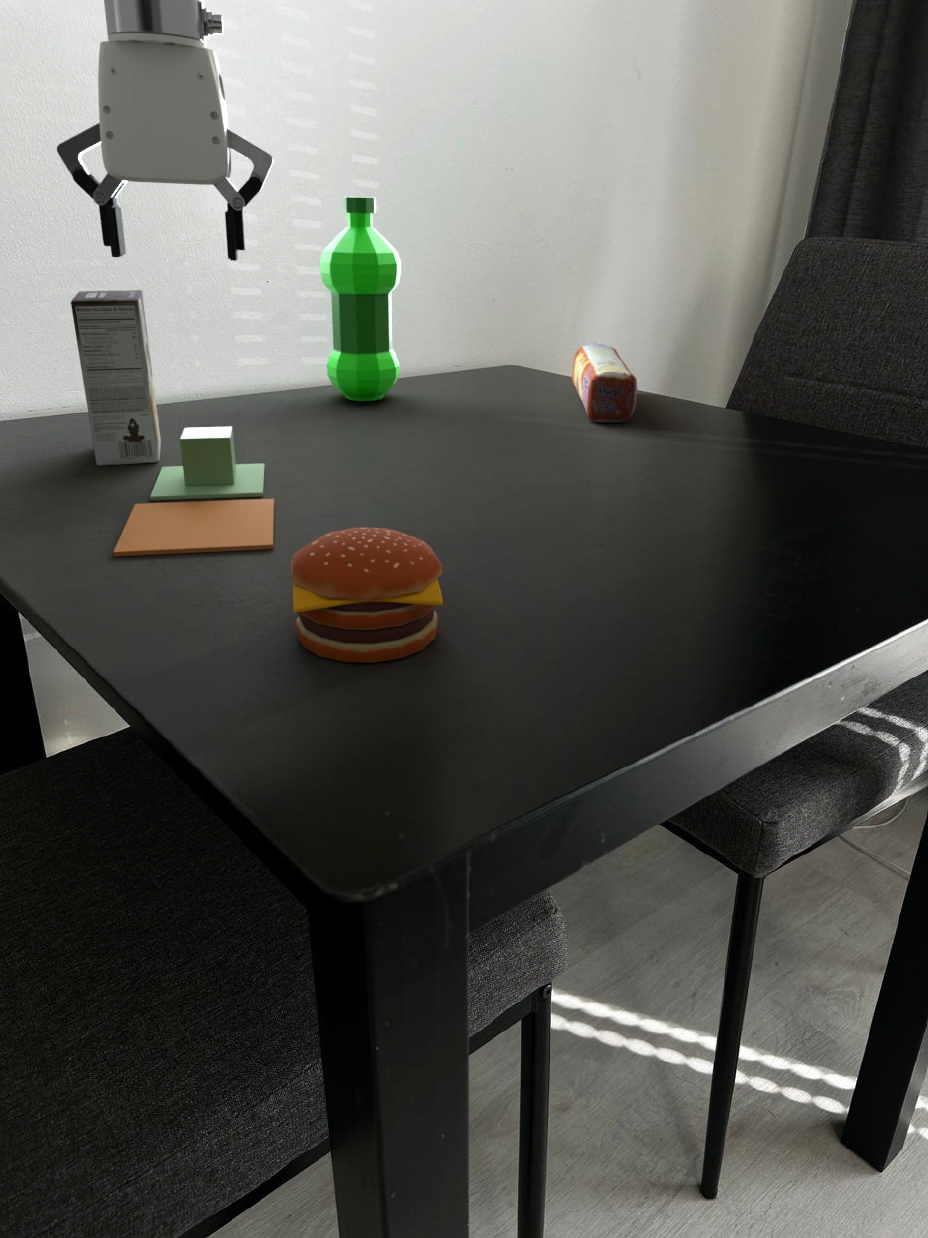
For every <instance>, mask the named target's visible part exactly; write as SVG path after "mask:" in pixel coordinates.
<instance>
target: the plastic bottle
mask: <svg viewBox="0 0 928 1238" xmlns="http://www.w3.org/2000/svg"><path fill="white" fill-rule="evenodd" d="M341 210H342V211H341V212H342V213H343V214H344V213H345V214H346V227H345V228H344V229H343V230H342V231H340V232H339V233H338V234H337V235H336V236H335V237H334V238H333V239H332V240H331V241H330V242H329V243H328V245H327V246H326V247H325V248H324V249H323V250H322V253H321V256H320V259H319V273H320V277H321V281H322V284H323V285H324V286H325V287H326V289H327V290H328V291H329V292H330V297H331V318H332V320H331V321H332V323H331V324H332V344H333V345H332V346H333V349H332V351H331V353H330V355H329V358H328V361H327V364H326V372H327V376H328V377H327V378H328V379H329V381H330V383H331V384H332V385H333V387H334V388H335V389H336V390H337V391H338V392H339V393H340V394H341V395H344V398H345V399H347V400H349V401H355V402H356V401H357V402H372V401H373V402H374V401H377V400H378V401H379V400H382V399H383V398H384V396H385V395H386V394H387V393H388V392H389V391H390V390H391V389H392V388H393V386H394V385H395V384H396V383H397V381H398V378H399V375H400V372H401V371H400V370H401V369H400V362H399V359H398V356H397V354H396V352H395V350H394V348H393V304H392V303H393V302H392V301H393V297H392V296H393V295H392V292H393V291H394V290H395V289H396V288H397V286H398V285H399V284H400V281H401V274H402V261H401V258H400V254H399V253H398V250H397V249H396V248H395V247H394V246H393V245H392V244H391V243H390V242H389V241H388V240H387V239H386V238H385V237H384V236H383V235H382V234H381V233H380V232H379V231H378V230H377V229H376V228H375V227H374V226H373V214H377V197H375V196H373V197H371V196H366V197H365V196H342V197H341Z"/></svg>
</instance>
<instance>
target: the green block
mask: <svg viewBox="0 0 928 1238" xmlns="http://www.w3.org/2000/svg"><path fill="white" fill-rule="evenodd" d="M179 447H180V455H181V464H182V466H183V472H184V481H185V486H209V485H234V483H235V476H236V464H237V463H236V462H237V461H236V452H235V441H234V429H233V426H200V427H184V428H183V431H182V432H181V436H180V438H179Z"/></svg>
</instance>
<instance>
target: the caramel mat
mask: <svg viewBox="0 0 928 1238" xmlns="http://www.w3.org/2000/svg"><path fill="white" fill-rule="evenodd" d="M274 516H275V499H274V498H258V499H257V498H256V499H254V498H253V499H230V500H229V499H228V500H225V499H224V500H202V501H201V500H200V501H199V500H198V501H180V502H179V501H177V502H176V501H175V502H148V503H134V505H133V508H132V509H131V512H130V513H129V516H128V519H127V520H126V523H125V525H124V528H123V530H122V532H121V534H120V536H119V539H118V541H117V543H116V544H115V547H114V549H113V551H112V554H113V555H112V556H113V557H133V556H135V557H136V556H155V555H156V556H157V555H175V554H177V555H178V554H197V553H198V554H199V553H200V554H201V553H218V552H219V553H220V552H221V553H222V552H237V551H238V552H239V551H263V550H273V549H274V527H275V526H274V524H275V523H274V522H275V519H274V518H275V517H274Z"/></svg>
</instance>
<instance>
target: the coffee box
mask: <svg viewBox="0 0 928 1238" xmlns="http://www.w3.org/2000/svg"><path fill="white" fill-rule="evenodd" d="M70 307H71V314H72V319H73V326H74V332H75V339H76V345H77V351H78V357H79V363H80V370H81V376H82V381H83V388H84V395H85V401H86V407H87V413H88V420H89V426H90V434H91V439H92V445H93V451H94V458H95V463H96V465H97V466H101V467H102V466H103V467H104V466H119V465H135V464H152V463H154V464H155V463H159V462H160V458H161V447H162V446H161V443H162V439H161V432H160V423H159V416H158V408H157V399H156V391H155V384H154V375H153V368H152V367H153V366H152V360H151V353H150V352H151V351H150V342H149V335H148V329H147V327H148V326H147V320H146V312H145V303H144V294H143V290H142V289H134V290H133V289H131V290H130V289H129V290H80V291H78V292H77V293H76V294H75V296H74V297H73V298H72V299H71V300H70Z"/></svg>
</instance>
